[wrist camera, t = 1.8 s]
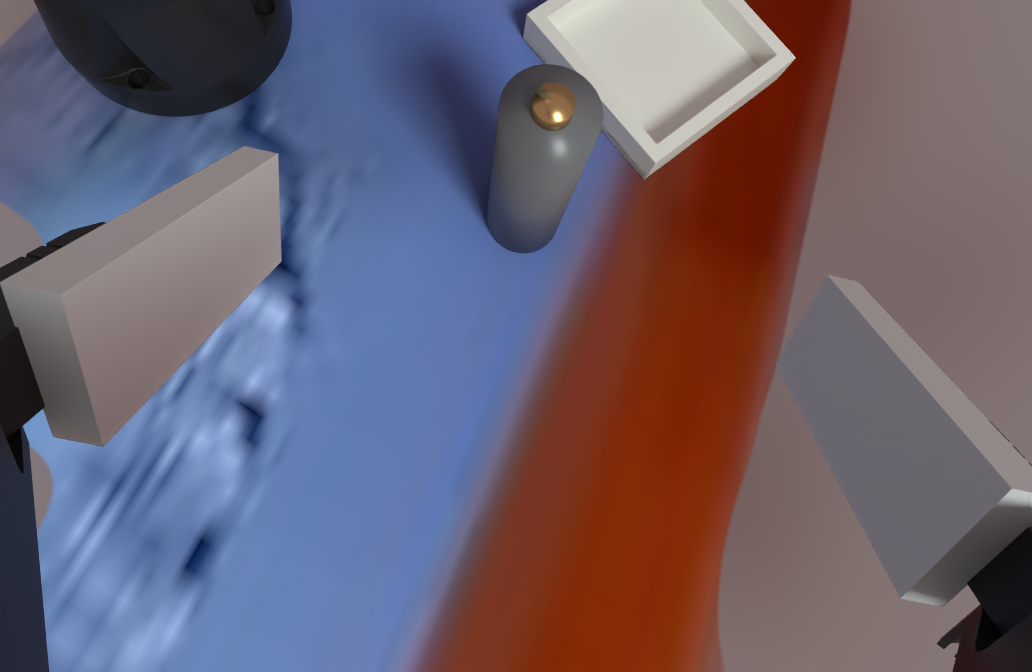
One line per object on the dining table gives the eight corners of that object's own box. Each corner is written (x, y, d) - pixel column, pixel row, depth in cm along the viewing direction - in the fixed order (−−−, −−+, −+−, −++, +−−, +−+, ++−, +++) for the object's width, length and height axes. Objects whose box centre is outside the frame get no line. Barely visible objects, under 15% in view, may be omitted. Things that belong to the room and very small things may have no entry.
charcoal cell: (472, 212, 39) (477, 90, 26) (527, 172, 40) (561, 34, 27) (517, 267, 39) (546, 172, 25) (571, 225, 40) (629, 113, 26)
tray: (523, 38, 42) (526, 13, 40) (659, -52, 45) (670, -80, 42) (644, 179, 41) (655, 163, 39) (776, 79, 44) (795, 57, 41)
